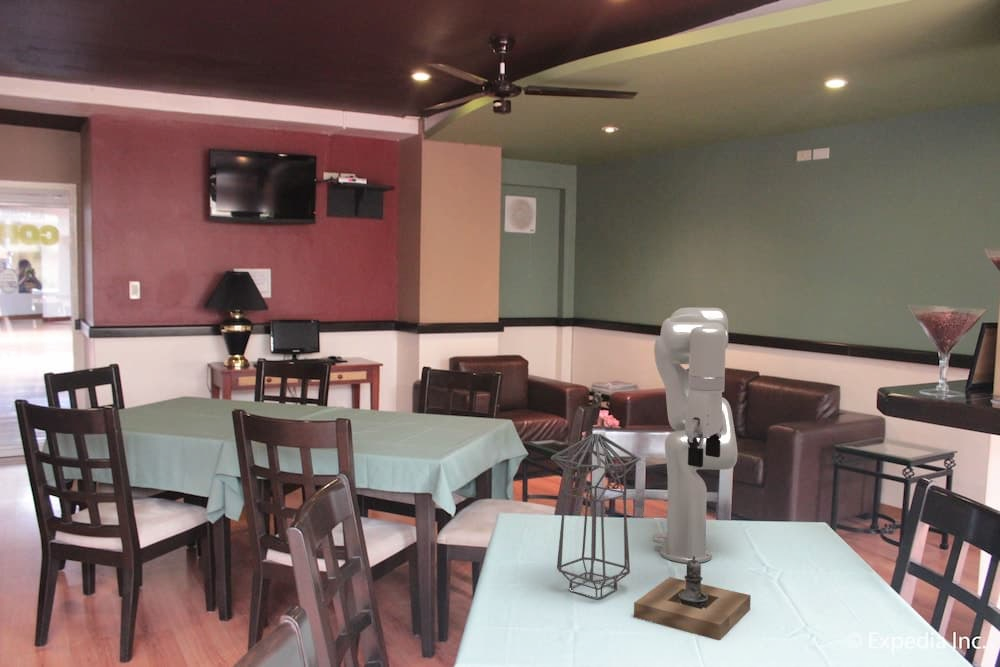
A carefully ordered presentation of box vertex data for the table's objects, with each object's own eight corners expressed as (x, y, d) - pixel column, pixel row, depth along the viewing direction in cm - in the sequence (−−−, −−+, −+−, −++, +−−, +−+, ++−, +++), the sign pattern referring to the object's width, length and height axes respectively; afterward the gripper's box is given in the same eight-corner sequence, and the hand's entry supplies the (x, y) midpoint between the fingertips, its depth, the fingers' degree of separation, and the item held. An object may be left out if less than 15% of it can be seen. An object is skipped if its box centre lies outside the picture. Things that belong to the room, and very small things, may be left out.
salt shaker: (674, 607, 167) (675, 551, 167) (701, 606, 168) (703, 550, 167) (683, 619, 161) (684, 561, 161) (711, 618, 162) (712, 560, 161)
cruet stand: (633, 617, 162) (634, 602, 162) (669, 590, 177) (669, 576, 177) (719, 639, 152) (720, 624, 152) (750, 609, 166) (750, 595, 166)
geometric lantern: (544, 590, 176) (546, 433, 175) (586, 573, 188) (588, 426, 187) (602, 609, 166) (604, 442, 165) (643, 590, 177) (646, 434, 176)
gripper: (705, 376, 181) (703, 450, 183) (673, 387, 167) (671, 467, 169) (737, 380, 176) (735, 455, 178) (707, 391, 162) (705, 473, 164)
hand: (704, 461), depth 173 cm, fingers open, 9 cm apart
